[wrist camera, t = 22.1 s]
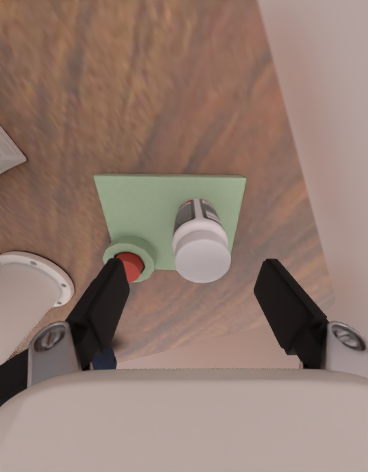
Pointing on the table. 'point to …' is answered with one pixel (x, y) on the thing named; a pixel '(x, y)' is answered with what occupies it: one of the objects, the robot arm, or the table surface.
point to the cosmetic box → (9, 153)
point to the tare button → (131, 265)
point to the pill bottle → (200, 242)
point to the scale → (161, 211)
